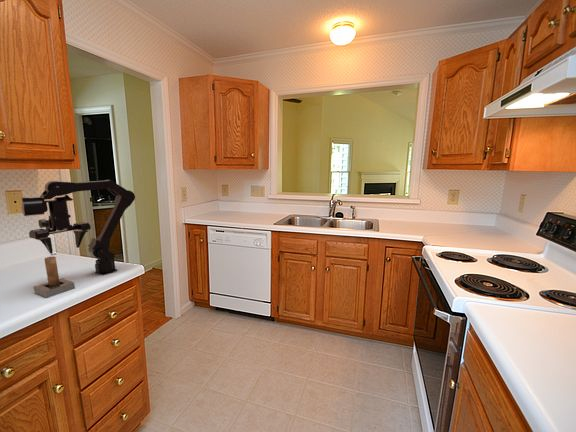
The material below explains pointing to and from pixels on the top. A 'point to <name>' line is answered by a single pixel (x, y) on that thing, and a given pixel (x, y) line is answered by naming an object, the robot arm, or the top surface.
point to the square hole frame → (54, 288)
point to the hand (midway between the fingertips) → (65, 250)
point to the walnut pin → (52, 271)
